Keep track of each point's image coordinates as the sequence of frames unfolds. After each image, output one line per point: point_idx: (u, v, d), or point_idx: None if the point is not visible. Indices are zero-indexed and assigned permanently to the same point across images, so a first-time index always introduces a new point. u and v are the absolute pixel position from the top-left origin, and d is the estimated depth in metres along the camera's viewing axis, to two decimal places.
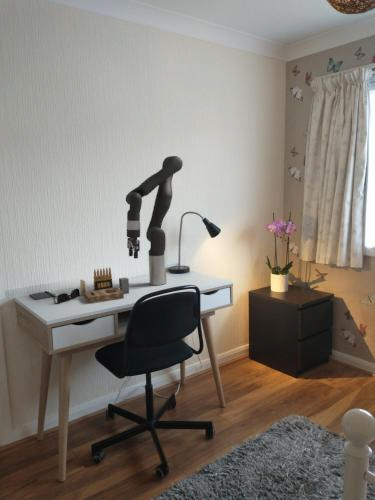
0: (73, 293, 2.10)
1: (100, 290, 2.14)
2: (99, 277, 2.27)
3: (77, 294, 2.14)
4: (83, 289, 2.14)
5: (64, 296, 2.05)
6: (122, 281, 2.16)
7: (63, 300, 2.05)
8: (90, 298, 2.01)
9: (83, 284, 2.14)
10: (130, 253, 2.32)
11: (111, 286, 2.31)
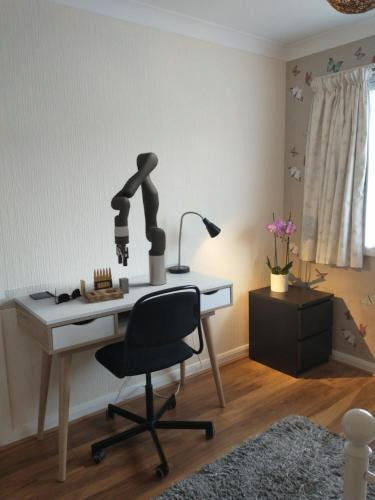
0: (74, 293, 2.10)
1: (100, 290, 2.14)
2: (99, 277, 2.27)
3: (78, 294, 2.13)
4: (83, 289, 2.14)
5: (65, 296, 2.05)
6: (122, 281, 2.16)
7: (64, 300, 2.04)
8: (90, 298, 2.01)
9: (83, 284, 2.14)
10: (119, 260, 2.20)
11: (111, 286, 2.31)
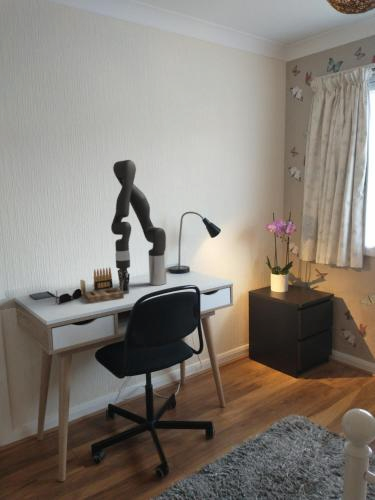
0: (75, 293, 2.09)
1: (100, 290, 2.14)
2: (99, 277, 2.27)
3: (79, 294, 2.13)
4: (83, 289, 2.14)
5: (66, 296, 2.04)
6: (122, 281, 2.16)
7: (65, 300, 2.04)
8: (90, 298, 2.01)
9: (83, 284, 2.14)
10: None
11: (111, 286, 2.31)
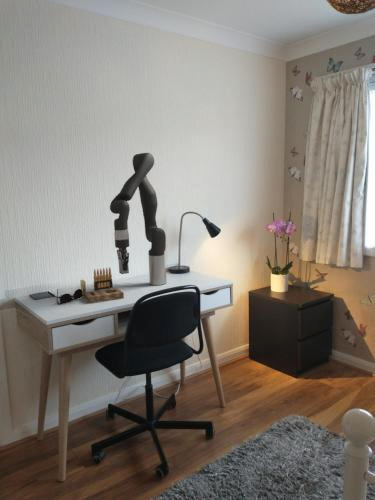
0: (76, 293, 2.09)
1: (100, 290, 2.14)
2: (99, 277, 2.27)
3: (80, 294, 2.13)
4: (83, 289, 2.14)
5: (67, 296, 2.04)
6: (121, 261, 2.14)
7: (66, 300, 2.03)
8: (90, 298, 2.01)
9: (83, 284, 2.14)
10: None
11: (111, 286, 2.31)
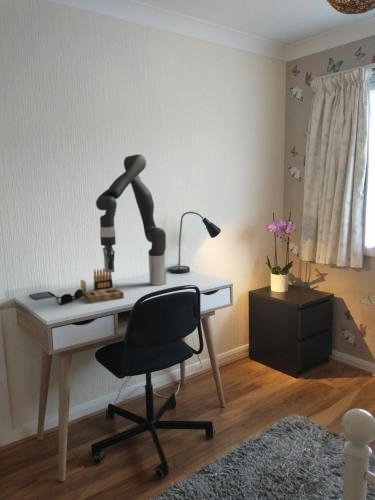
0: (76, 294, 2.09)
1: (100, 290, 2.14)
2: (99, 277, 2.27)
3: (80, 295, 2.12)
4: (84, 289, 2.14)
5: (68, 296, 2.03)
6: (107, 259, 2.07)
7: (66, 301, 2.03)
8: (90, 298, 2.01)
9: (84, 284, 2.14)
10: None
11: (111, 286, 2.31)
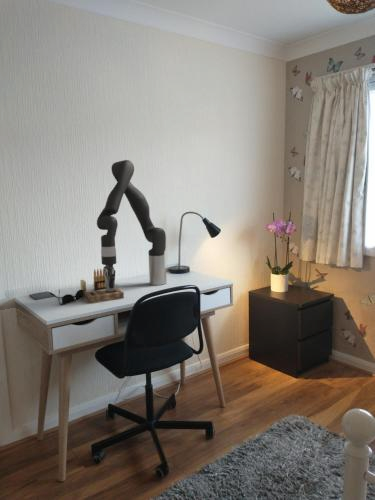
0: (78, 294, 2.08)
1: (100, 290, 2.14)
2: (99, 277, 2.27)
3: (82, 295, 2.12)
4: (84, 289, 2.14)
5: (69, 297, 2.03)
6: (108, 278, 2.08)
7: (68, 301, 2.02)
8: (90, 298, 2.01)
9: (84, 284, 2.14)
10: None
11: None
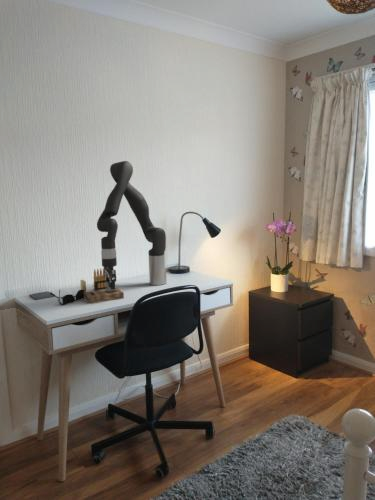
0: (78, 294, 2.08)
1: (100, 290, 2.14)
2: (99, 277, 2.27)
3: (82, 295, 2.11)
4: (84, 289, 2.14)
5: (69, 297, 2.02)
6: (108, 285, 2.09)
7: (68, 301, 2.02)
8: (90, 298, 2.01)
9: (84, 284, 2.14)
10: None
11: None
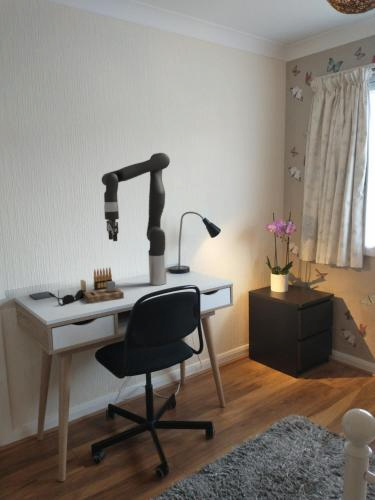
0: (78, 294, 2.07)
1: (100, 290, 2.14)
2: (99, 277, 2.27)
3: (82, 295, 2.11)
4: (84, 289, 2.14)
5: (69, 297, 2.02)
6: (108, 285, 2.09)
7: (68, 301, 2.02)
8: (90, 298, 2.01)
9: (84, 284, 2.14)
10: (110, 236, 2.24)
11: None
